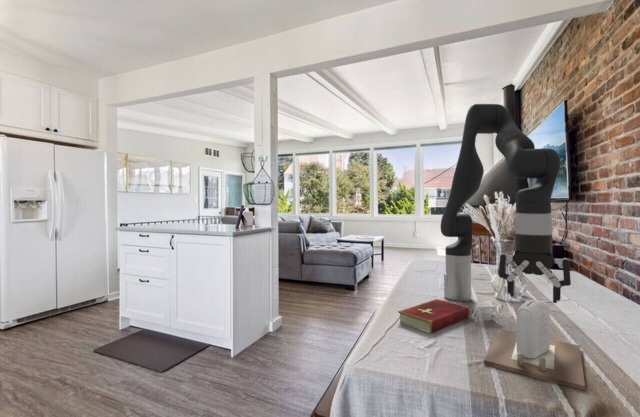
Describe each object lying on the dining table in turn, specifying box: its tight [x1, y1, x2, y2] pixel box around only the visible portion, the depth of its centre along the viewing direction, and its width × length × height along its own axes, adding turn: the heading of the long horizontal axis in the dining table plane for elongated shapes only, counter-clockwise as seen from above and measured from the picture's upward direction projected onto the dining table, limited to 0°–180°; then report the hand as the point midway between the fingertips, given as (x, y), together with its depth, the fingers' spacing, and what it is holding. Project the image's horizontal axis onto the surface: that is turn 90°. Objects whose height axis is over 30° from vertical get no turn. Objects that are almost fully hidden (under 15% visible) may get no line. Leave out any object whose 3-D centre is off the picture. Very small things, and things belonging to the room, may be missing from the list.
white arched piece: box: [470, 300, 502, 324], centre depth 103 cm, size 12×8×5 cm
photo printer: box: [516, 299, 551, 359], centre depth 77 cm, size 10×4×12 cm, turn 124°
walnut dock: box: [483, 329, 586, 391], centre depth 77 cm, size 18×22×4 cm
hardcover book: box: [397, 298, 471, 335], centre depth 102 cm, size 12×21×4 cm, turn 126°
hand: (533, 298), depth 77 cm, fingers open, 8 cm apart
